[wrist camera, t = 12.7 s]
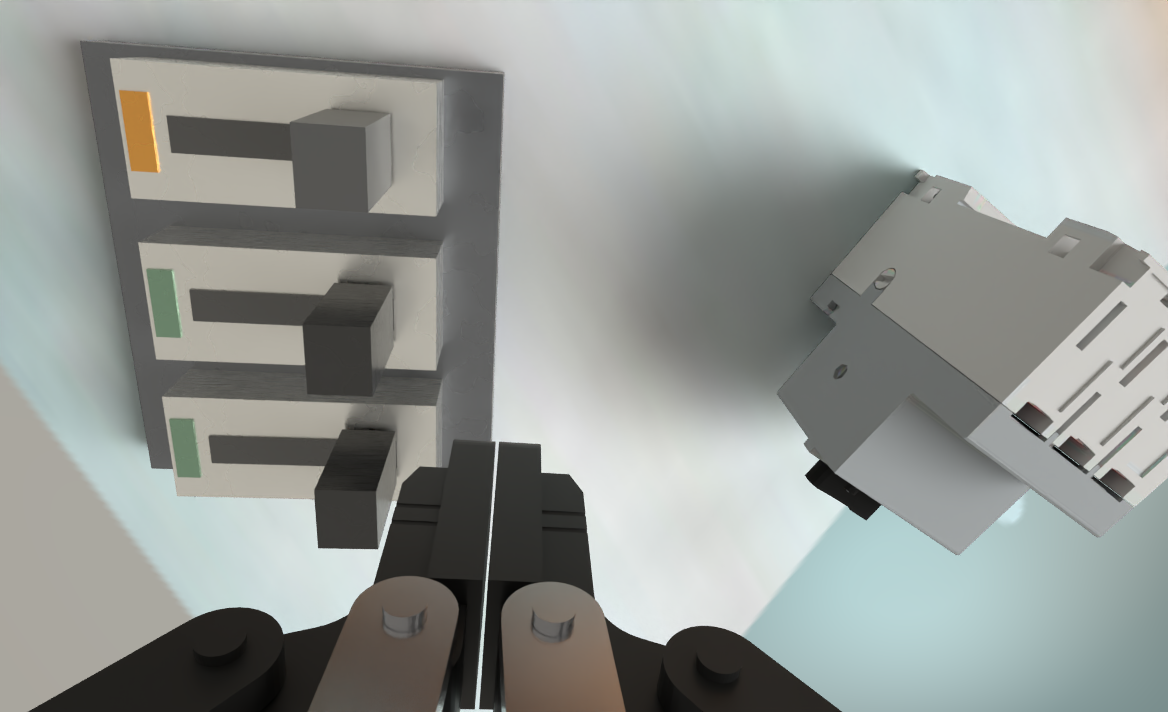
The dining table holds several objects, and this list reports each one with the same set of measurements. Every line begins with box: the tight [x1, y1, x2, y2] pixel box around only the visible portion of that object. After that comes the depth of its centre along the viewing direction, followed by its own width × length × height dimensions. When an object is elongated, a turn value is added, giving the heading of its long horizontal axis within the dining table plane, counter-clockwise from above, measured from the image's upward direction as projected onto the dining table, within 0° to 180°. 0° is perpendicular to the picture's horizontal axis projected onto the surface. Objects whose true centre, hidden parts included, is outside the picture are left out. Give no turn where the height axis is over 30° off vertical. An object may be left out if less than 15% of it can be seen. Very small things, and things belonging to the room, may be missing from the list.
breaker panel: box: [80, 41, 504, 549], centre depth 32 cm, size 20×17×10 cm
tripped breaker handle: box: [290, 109, 392, 212], centre depth 27 cm, size 3×2×5 cm
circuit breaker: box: [777, 170, 1168, 555], centre depth 33 cm, size 8×14×15 cm, turn 144°
